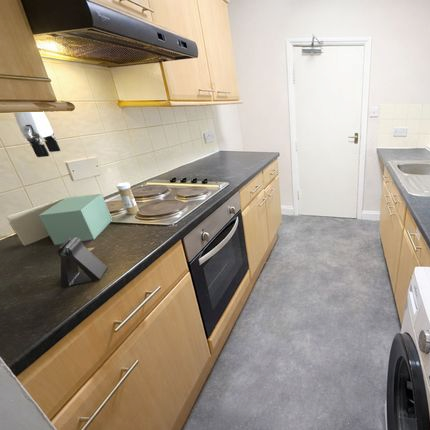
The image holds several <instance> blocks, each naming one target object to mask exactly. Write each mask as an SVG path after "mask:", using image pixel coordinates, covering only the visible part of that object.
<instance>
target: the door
mask: <svg viewBox="0 0 430 430" xmlns="http://www.w3.org/2000/svg"><path fill="white" fill-rule="evenodd" d="M65 198H66V197H65ZM65 198H64V197H63V198H60V199H57V200H54V201H50V202H47V203H43V204H41V205H37V206H34V207H31V208H28V209H25V210H22V211H19V212H15V213H12V214H9V215H6V218H7V220H8V222H9V225H10V226H11V228H12V230H13V232H14V233H15V235H16V236H17V238H18V239H19V240H20V241H21V243H22V245H23V246H24V247H25V246H28V245H31V244H33V243H36V242H38V241H40V240H43V239H45V238H47V237H50V235H49V234H48V232H47V230H46V228H45V226H44V224H43V223H42V221H41V219H40V217H39V215H40V214H41V213H43V212H44V211H46V210H48V209H49V208H51V207H52V206H54V205H55V204H57V203H59V202H60V201H62V200H63V199H65Z"/></svg>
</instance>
